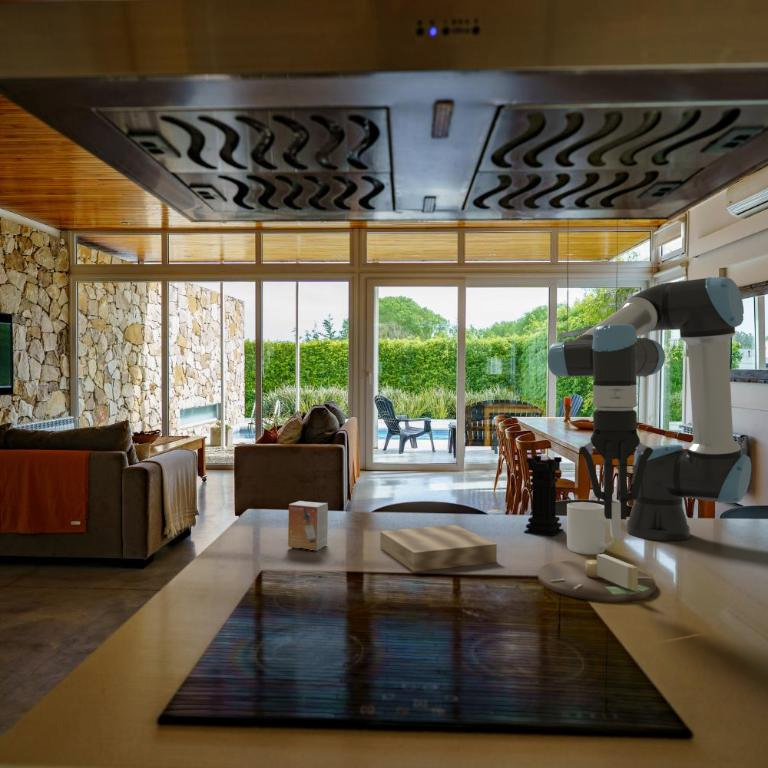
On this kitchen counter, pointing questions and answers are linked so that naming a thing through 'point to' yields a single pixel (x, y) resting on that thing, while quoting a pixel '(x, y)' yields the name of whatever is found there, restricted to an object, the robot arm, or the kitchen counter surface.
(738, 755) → the kitchen counter surface
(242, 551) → the kitchen counter surface
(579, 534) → the mug
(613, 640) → the kitchen counter surface
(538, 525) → the chess piece
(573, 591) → the dial
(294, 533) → the small box
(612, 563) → the white bar with ball
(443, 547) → the block
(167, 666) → the kitchen counter surface
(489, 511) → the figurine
